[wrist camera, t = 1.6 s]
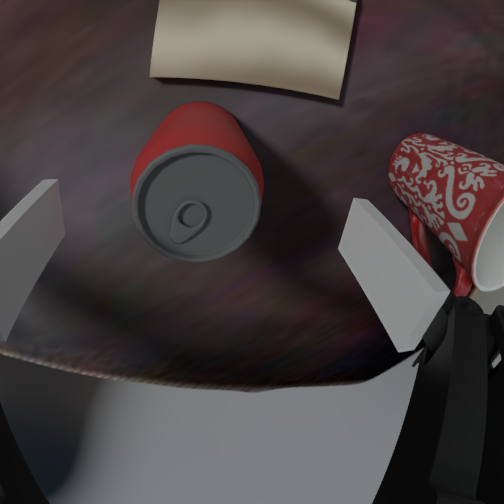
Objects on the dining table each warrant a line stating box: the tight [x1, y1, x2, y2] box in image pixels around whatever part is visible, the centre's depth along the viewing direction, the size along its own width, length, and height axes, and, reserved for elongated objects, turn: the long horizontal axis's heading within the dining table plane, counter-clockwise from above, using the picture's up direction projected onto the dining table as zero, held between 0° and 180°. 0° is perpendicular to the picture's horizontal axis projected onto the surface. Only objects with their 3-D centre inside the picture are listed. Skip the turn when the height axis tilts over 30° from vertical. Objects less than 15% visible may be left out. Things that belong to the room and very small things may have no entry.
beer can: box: [131, 102, 264, 263], centre depth 18 cm, size 7×7×12 cm
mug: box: [388, 133, 504, 297], centre depth 22 cm, size 13×9×14 cm
